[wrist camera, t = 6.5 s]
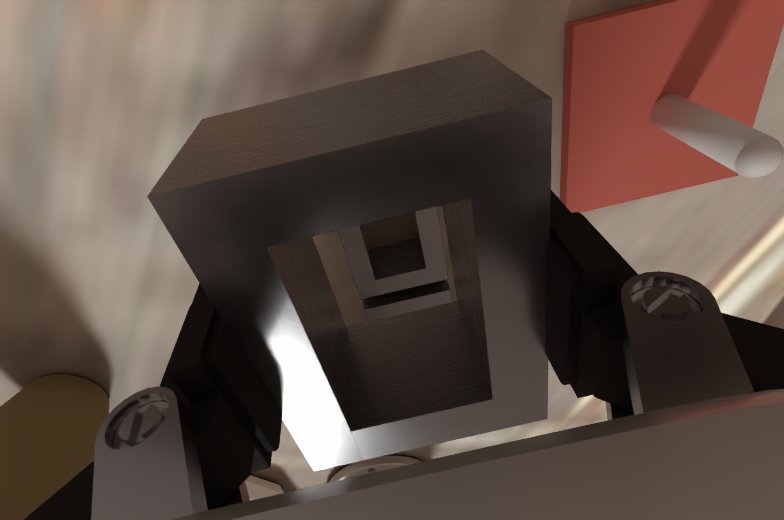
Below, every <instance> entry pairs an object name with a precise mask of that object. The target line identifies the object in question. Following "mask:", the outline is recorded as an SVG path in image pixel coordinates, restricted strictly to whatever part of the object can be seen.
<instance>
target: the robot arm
mask: <svg viewBox="0 0 784 520" xmlns="http://www.w3.org/2000/svg"><path fill="white" fill-rule="evenodd" d="M545 354H546V356H547V358H548V359H549V361H550V363H551V365H552V367H553V369H554V371H555V373H556V375H557V376H558V378H559V380H560V382H561V383H562V384H563V385H567V384H570V385H571V386H572V388H573V390H574V392H575V394H576V396H577V397H578V398H580V397H585V396H589V395H593V396H594V397H596V398H598V399H601V400H603V401H606V410H607V418H608V421H604V422H599V423H594V424H590V425H585V426H581V427H576V428H572V429H567V430H563V431H558V432H553V433H549V434H544V435H540V436H535V437H531V438H526V439H521V440H517V441H512V442H508V443H503V444H499V445H494V446H490V447H485V448H481V449H476V450H472V451H467V452H463V453H458V454H454V455H449V456H445V457H440V458H436V459H431V460H427V461H420V460H418V459H414V458H410V457H405V456H380V457H376V458H371V459H367V460H363V461H358V462H355V463H353V464H350V465H348V466H346V467H345V468H343V469H341V470H340V471H339V472H337V473H336V474H335V475H334V476H333V477H332V478H331V480H330V481H329V482H328V483H325V484H320V485H316V486H312V487H307V488H303V489H299V490H294V491H290V492H286V493H281V494H277V495H273V496H268V497H264V498H260V499H255V500H251V501H250V498H249V494H248V490H247V486H246V483H245V480H246V479H247V478H248V477H249V476H250V475H251V472H253V471H258V470H262V469H267V468H270V465H271V456H272V451H276V450H277V449H278V447H279V443H280V433H281V422H282V412H281V411H280V409H279V407H278V406H277V404H276V402H275V401H274V399H273V397H272V396H271V394H270V392H269V391H268V389H267V387H266V386H265V384H264V382H263V381H262V379H261V377H260V376H259V374H258V372H257V371H256V369H255V367H254V366H253V364H252V362H251V361H250V359H249V357H248V356H247V354H246V352H245V351H244V349H243V347H242V346H241V344H240V342H239V341H238V339H237V337H236V336H235V334H234V332H233V330H232V329H231V327H230V325H229V324H228V322H227V320H226V319H223V320H222V319H221V317H220V316H219V314H218V312H217V311H216V309H215V307H214V306H213V304H212V302H211V301H210V299H209V297H208V296H207V294H206V293H205V291H204V289H203V288H202V286H201V284H199V286H198V289H197V292H196V294H195V297H194V300H193V302H192V304H191V306H190V308H189V310H188V313H187V315H186V318H185V321H184V323H183V326H182V329H181V331H180V334H179V336H178V339H177V342H176V344H175V347H174V350H173V352H172V355H171V358H170V360H169V363H168V365H167V368H166V371H165V373H164V376H163V379H162V381H161V384H160V387H159V386H158V387H152V388H147V389H144V390H142V391H139V392H137V393H135V394H133V395H132V396H130V397H128V398H127V399H125V400H124V401H122V402H121V403H120V404H119V405H118V406H116V407H115V408H114V409H113V410H112V411H111V412H110V414H109V415H108V416H107V417H106V418H105V420H104V421H103V423H102V425H101V426H100V428H99V430H98V433H97V437H96V441H95V459H94V461H93V462H91V463H90V464H89V465H88V466H87V467H86V468H84V469H83V470H82V471H81V472H80V473H78V474H77V475H76V476H75V477H74V478H72V479H71V480H70V481H69V482H68V483H66V484H65V485H64V486H63V487H62V488H61V489H59V490H58V491H57V492H56V493H55V494H53V495H52V496H51V497H50V498H49V499H47V500H46V501H45V502H44V503H43V504H42V505H40V506H39V507H38V508H37V509H36V510H34V511H33V512H32V513H31V514H30V515H28V516H27V517H26V518H25V519H24V520H784V329H781V328H777V327H773V326H769V325H765V324H762V323H758V322H754V321H750V320H747V319H743V318H739V317H735V316H731V315H728V314H724V313H721V311H720V309H719V306H718V304H717V302H716V299H715V298H714V296H713V295H712V293H711V292H710V291H709V290H708V289H707V288H706V287H705V286H703V285H702V284H701V283H699V282H697V281H695V280H693V279H691V278H689V277H687V276H683V275H679V274H676V273H670V272H660V271H658V272H646V273H642V274H639V275H638V274H637V273H636V272H635V270H634V269H633V268H632V267H631V266H630V265H629V264H628V263H627V262H626V261H625V260H624V259H623V258H622V257H621V255H620V254H619V253H618V252H617V251H616V250H615V249H614V248H613V247H612V246H611V245H610V244H609V243H608V242H607V240H606V239H605V238H604V237H603V236H602V235H601V234H600V233H599V232H598V231H597V230H596V229H595V228H594V227H593V225H592V224H591V223H590V222H589V221H588V220H587V219H586V218H585V217H584V216H583V215H582V214H581V213H579V212H573V213H571V212H570V210H569V209H568V208H567V207H566V206H565V205H564V204H563V203H562V202H561V200H560V199H559V198H558V197H557V196H556V195H555V194H554V193H553V192H552V190H551V198H550V243H546V331H545Z"/></svg>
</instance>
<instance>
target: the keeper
mask: <svg viewBox="0 0 784 520" xmlns="http://www.w3.org/2000/svg"><path fill="white" fill-rule="evenodd" d="M783 24H784V0H659V1H655V2H651V3H646V4H642V5H638V6H634V7H630V8H626V9H622V10H618V11H614V12H610V13H606V14H602V15H598V16H594V17H590V18H586V19H582V20H578V21H573V22H569V23H566V29H565V60H564V90H563V120H562V151H561V181H560V200H561V202H562V203H563V204H564V205H565V206H566V207H567V208H568V209H569V210H570V212H571V213H573V212H579V213H580V212H585V211H589V210H593V209H597V208H602V207H606V206H610V205H614V204H619V203H623V202H627V201H631V200H636V199H640V198H644V197H648V196H653V195H657V194H661V193H665V192H670V191H674V190H678V189H682V188H687V187H691V186H695V185H699V184H704V183H708V182H712V181H716V180H721V179H725V178H729V177H733V176H738V174H740V175H742V176H745V177H761V176H764V175H767V174H769V173H771V172H772V171H774V170H775V169H776V168H777V167H778V166H779V165H780V163H781V162H782V159H783V156H784V150H783V147H782V145H781V143H780V142H779V141H778V140H777V139H775V138H773V137H771V136H769V135H767V134H765V133H762V132H760V131H758V130H756V129H753V128H752V127H753V124H754V120H755V117H756V114H757V111H758V107H759V104H760V101H761V97H762V94H763V91H764V87H765V84H766V81H767V77H768V74H769V71H770V67H771V64H772V61H773V57H774V54H775V51H776V48H777V44H778V41H779V38H780V34H781V31H782V28H783Z"/></svg>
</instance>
